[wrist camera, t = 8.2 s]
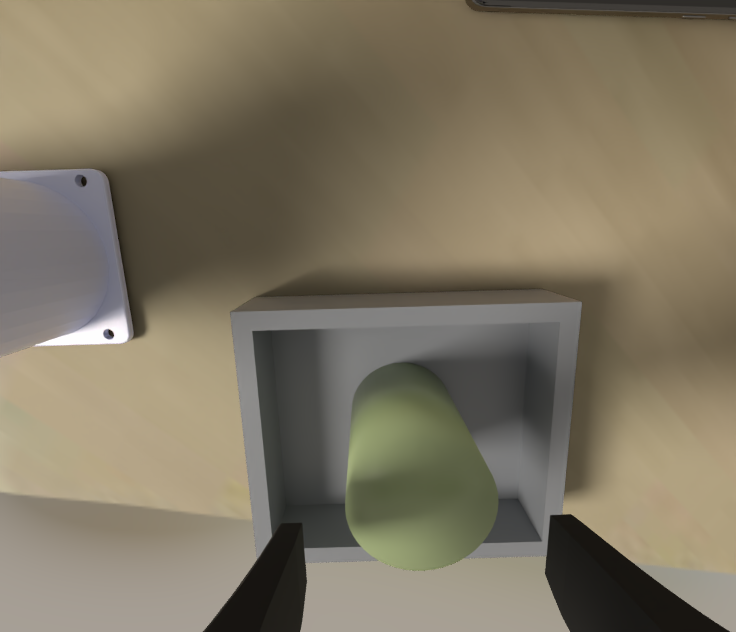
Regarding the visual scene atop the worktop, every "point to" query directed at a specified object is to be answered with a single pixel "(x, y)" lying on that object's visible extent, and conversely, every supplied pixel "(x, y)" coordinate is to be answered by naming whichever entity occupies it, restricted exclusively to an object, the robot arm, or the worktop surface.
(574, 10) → the smartphone
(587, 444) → the worktop surface
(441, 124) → the worktop surface
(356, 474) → the green cylinder
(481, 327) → the grey bin
